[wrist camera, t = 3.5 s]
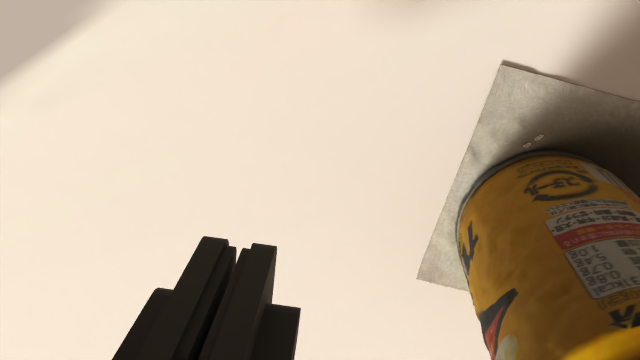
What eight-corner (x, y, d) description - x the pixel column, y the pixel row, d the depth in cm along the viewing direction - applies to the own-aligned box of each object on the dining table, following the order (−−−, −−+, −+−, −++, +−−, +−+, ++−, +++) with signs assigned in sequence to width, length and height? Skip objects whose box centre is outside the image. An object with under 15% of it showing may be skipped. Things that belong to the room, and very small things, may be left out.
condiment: (415, 276, 20) (478, 655, 10) (499, 63, 17) (750, 272, 6) (594, 321, 21) (856, 742, 10) (712, 121, 17) (1321, 422, 6)
